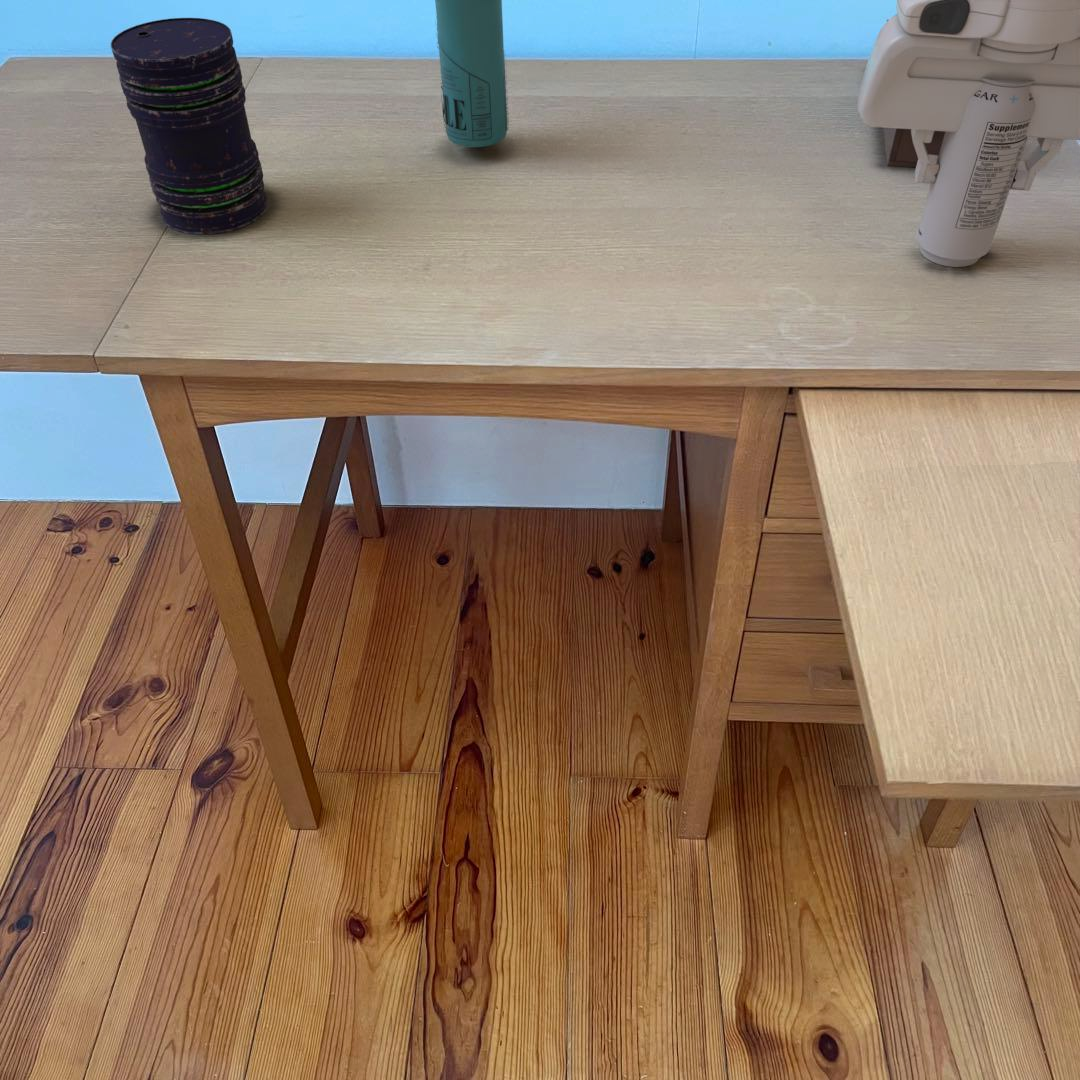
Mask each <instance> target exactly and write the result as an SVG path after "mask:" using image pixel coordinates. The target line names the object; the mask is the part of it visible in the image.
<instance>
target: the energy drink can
mask: <svg viewBox="0 0 1080 1080" xmlns="http://www.w3.org/2000/svg"><path fill="white" fill-rule="evenodd" d="M981 81H982V82H985V84H984V86H983V87H982V88H981V89H980V90H978V91H977V92H976V93H975V94H974V95H973V96H972V97H971V98H970V99H969V101H968V102H967V106H966V110H965V113H964V117H963V121H962V124H961V126H960V128H959V130H958V131H957V132H946V131H945V135H944V139H943V142H942V146H941V149H940V153H939V156H938V161H939V163H940V166H939V170H938V173H937V174H936V180H935V183H934V184H932V183H930V184H929V189H928V193H927V197H926V198H925V199H926V200H925V204H924V208H923V210H922V214H921V217H920V220H919V225H918V228H917V232H916V236H915V239H916V242H917V244H918V245H919V246H920V247H919V252H920V253H921V255H922V256H923V257H924V258H925V259H927V260H928V261H930V262H933V264H934V263H935V264H937V265H941V266H945V267H951V268H964V267H969V266H973V265H974V264H976V263H977V262H978V261H979V260H980V258H983V257H984V256H986V255H987V254H988V253H989V251H990V249H991V246H992V244H993V241H994V237H995V235H996V232H997V228H998V226H999V223H1000V220H1001V217H1002V214H1003V211H1004V208H1005V205H1006V202H1007V199H1008V196H1009V193H1010V190H1011V189H1010V188H1011V185H1012V182H1013V179H1014V176H1015V173H1016V170H1017V167H1018V164H1019V161H1021V158H1022V156H1023V155H1022V154H1023V151H1024V150H1025V146H1026V143H1027V140H1028V138H1029V137H1026V133H1027V129H1028V126H1029V123H1030V120H1031V117H1032V114H1033V111H1034V108H1035V102H1034V99H1033V97H1032V94H1031V92H1030V88H1029V87H1030V85H1032V84H1033V83H1034V82H1035V80H1033V81H1022V80H1005V79H986V78H983V77H982V78H981Z"/></svg>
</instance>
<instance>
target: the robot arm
mask: <svg viewBox="0 0 1080 1080" xmlns="http://www.w3.org/2000/svg"><path fill="white" fill-rule="evenodd" d="M895 5H896V6H895V7H896V14H894V15H892V16H891V17H890V18H889V19H887V20H888V21H887V20H886V21H885V23H884V24H883V26H882V27H881V29H880V30H879V32H878V34H877V36H876V39H875V41H874V44H873V45H872V48H871V51H870V54H869V56H868V60H867V63H866V66H865V68H864V72H863V76H862V80H861V83H860V87H859V92H858V96H857V111H858V115H859V117H860V118H861V120H862V122H863V123H864V125H865V126H867V127H870V128H871V127H872V128H883V127H885V128H901V129H911V134H912V140H913V144H914V147H915V150H916V153H917V156H918V162H917V166H916V167H915V170H914V182H915V183H916V184H931V183H932V184H934V183H935V180H936V174H937V173H938V170H939V166H940V163H939V161H938V155H929V154H928V153H927V150H926V146H925V143H930V142H931V141H932V137H933V134H934V131H946V132H957V131H958V130H959V128H960V126H961V124H962V121H963V117H964V113H965V110H966V106H967V102H968V101H969V99H970V98H971V97H972V96H973V95H974V94H975V93H976V92H977V91H978V90H980V89H981V88H982V87H983V86H984V84H985V82H982V81H981V78H982V77H983V78H986V79H1005V80H1022V81H1033V80H1035V82H1034V83H1033V84H1032V85H1030V87H1029V88H1030V92H1031V94H1032V97H1033V99H1034V102H1035V108H1034V111H1033V114H1032V117H1031V120H1030V123H1029V126H1028V129H1027V133H1026V137H1028V138H1036V140H1037V142H1038V144H1039V145H1038V146H1037V147H1036V148H1034V150H1033V151H1032V152H1031V153H1030V154H1029V155H1028V157H1026V159H1025V160H1020V161H1019V164H1018V167H1017V170H1016V173H1015V176H1014V179H1013V182H1012V185H1011V188H1010V190H1014V191H1027V192H1029V191H1030V190H1031V188H1032V186H1033V183H1034V180H1035V177H1036V174H1037V172H1039V171H1040V170H1041V169H1043V168H1044V167H1045V166H1046V165H1047V164H1048V163H1049V162H1050V161H1051V160H1052V159H1053V158H1054V157H1056V156H1057V155H1058V154H1059V153H1060V150H1061V148H1062V145H1063V143H1064V140H1067V141H1068V140H1070V141H1071V140H1072V141H1080V0H896V4H895ZM924 142H925V143H924Z"/></svg>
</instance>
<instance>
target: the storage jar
mask: <svg viewBox="0 0 1080 1080" xmlns="http://www.w3.org/2000/svg"><path fill="white" fill-rule="evenodd" d="M233 38H234V37H233V34H232V30H231V28H230V27H229V26H228V25H226V24H225V23H224V22H220V21H218V20H214V19H209V18H201V17H173V18H172V17H171V18H163V19H158V20H152V21H148V22H144V23H139V24H136V25H134V26H131V27H129V28H127V29H125V30H123V31H121V32H119V33H117V34H116V35H115V36H114V37H113V38H112V39H111V42H110V48H111V52H112V55H113V57H114V59H115V61H116V68H117V72H118V75H119V76H118V77H119V78H118V79H119V83H120V86H121V90H122V94H123V95H124V96H125V100H126V107H127V109H128V110H129V113H130V115H131V117H132V118H133V119H134V120H135V123H136V126H137V129H138V132H139V136H140V140H141V143H142V147H143V149H144V153H145V155H144V163H145V169H146V171H147V175H148V181H149V184H150V186H151V190H152V193H153V195H154V196H155V199H156V202H157V204H158V206H159V207H160V209H159V212H160V216H161V220H162V221H163V223H164V224H165V225H166V227H169V228H170V229H172V230H174V231H176V232H180V233H183V234H184V233H185V234H190V235H213V234H215V235H216V234H220V233H221V234H222V233H227V232H231V231H234V230H239V229H241V228H243V227H245V226H248V225H250V224H252V223H254V222H255V221H257V220H258V219H259V218H260V217H262V216H263V215H264V213H265V212H266V211H267V208H268V207H269V202H268V201H269V200H268V197H267V193H266V191H265V182H264V172H263V166H262V162H261V160H260V158H259V155H260V153H259V150H258V148H257V145H256V142H255V141H254V139H253V138H252V135H251V131H250V125H249V121H248V115H247V111H246V107H245V104H246V101H247V98H246V88H245V87H244V84H243V75H242V69H241V65H240V62H239V60H238V57H237V53H236V48H235V47H234V39H233Z"/></svg>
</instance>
